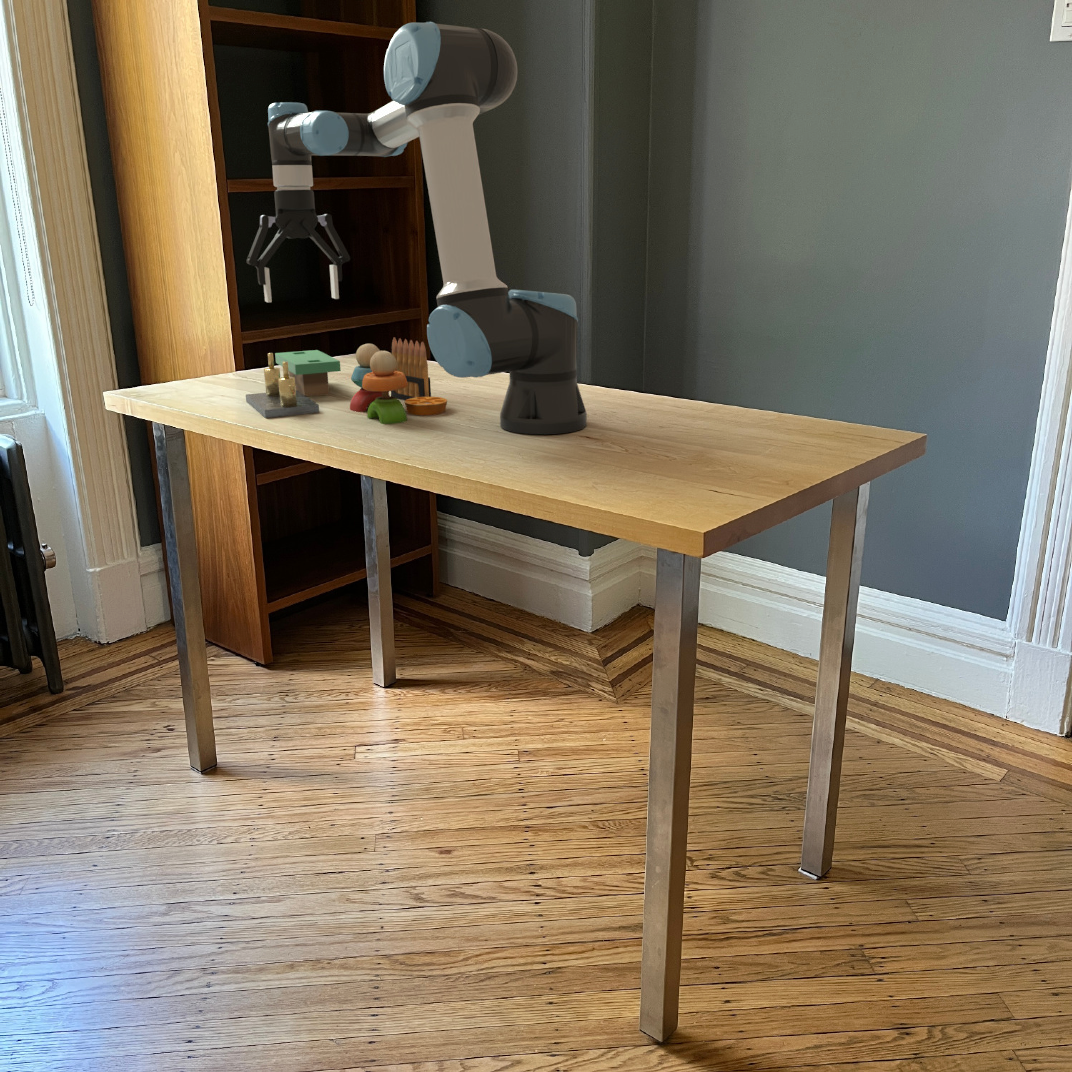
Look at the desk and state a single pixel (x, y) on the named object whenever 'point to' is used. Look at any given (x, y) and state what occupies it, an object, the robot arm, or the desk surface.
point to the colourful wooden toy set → (386, 389)
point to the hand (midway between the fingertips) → (302, 300)
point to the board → (308, 362)
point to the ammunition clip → (411, 369)
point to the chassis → (280, 395)
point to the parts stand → (311, 383)
